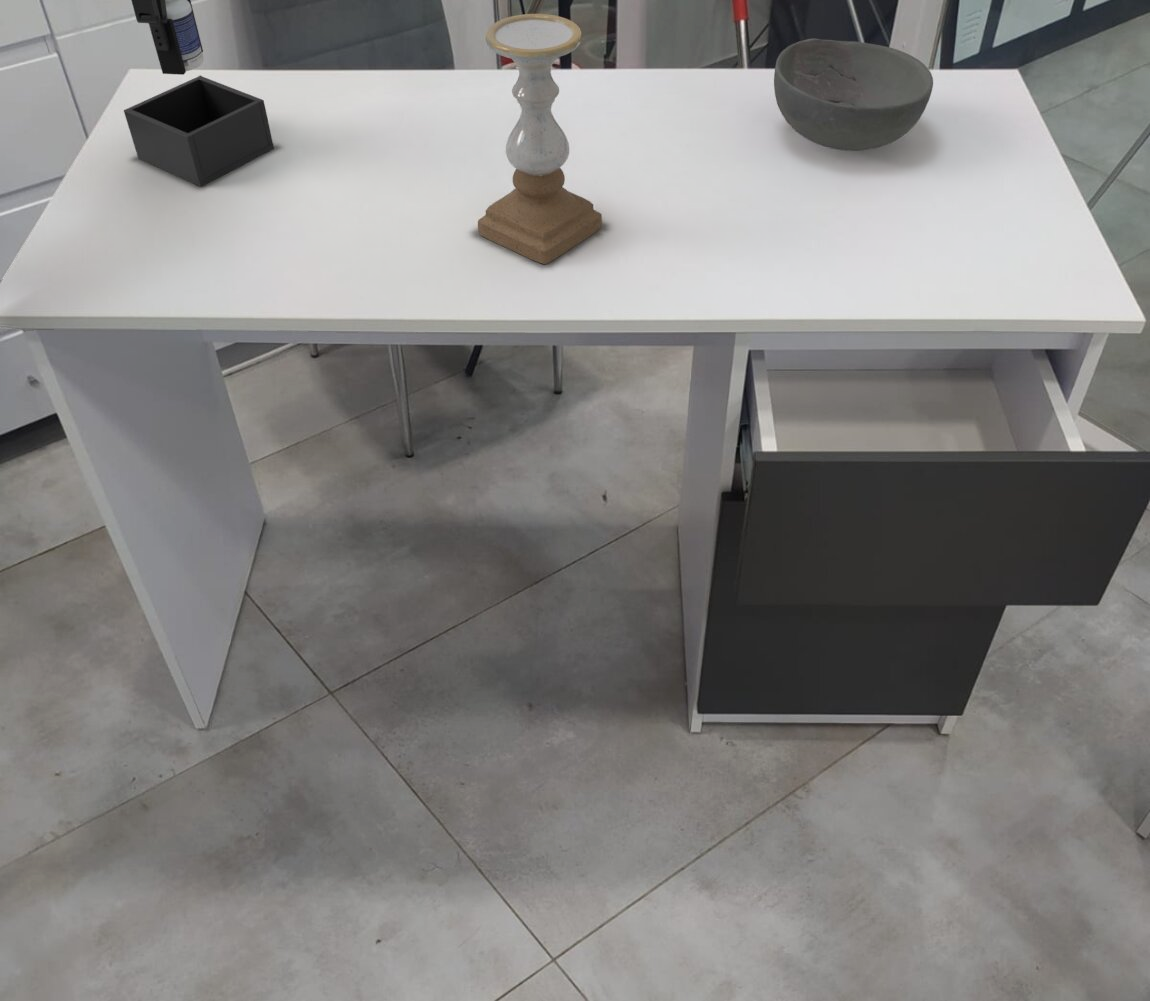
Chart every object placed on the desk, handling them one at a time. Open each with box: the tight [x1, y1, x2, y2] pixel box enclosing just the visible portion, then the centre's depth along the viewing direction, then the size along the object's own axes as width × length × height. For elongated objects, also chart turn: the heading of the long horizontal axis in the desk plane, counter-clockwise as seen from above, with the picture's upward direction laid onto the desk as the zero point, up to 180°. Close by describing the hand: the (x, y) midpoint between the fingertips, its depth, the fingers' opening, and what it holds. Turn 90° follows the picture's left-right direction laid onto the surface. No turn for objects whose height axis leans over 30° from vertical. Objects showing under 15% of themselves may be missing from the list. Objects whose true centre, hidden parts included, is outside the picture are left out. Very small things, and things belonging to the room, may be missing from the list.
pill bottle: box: [150, 0, 204, 72], centre depth 137 cm, size 5×5×10 cm
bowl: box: [773, 38, 934, 152], centre depth 147 cm, size 20×20×10 cm
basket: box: [123, 75, 275, 188], centre depth 146 cm, size 13×13×7 cm
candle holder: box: [477, 13, 603, 265], centre depth 126 cm, size 11×11×24 cm
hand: (183, 61), depth 140 cm, fingers closed on pill bottle, 5 cm apart
